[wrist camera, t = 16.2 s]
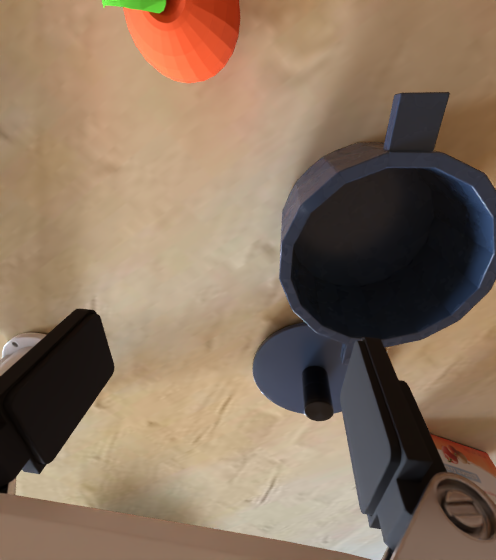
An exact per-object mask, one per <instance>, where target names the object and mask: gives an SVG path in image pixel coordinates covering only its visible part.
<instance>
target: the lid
mask: <svg viewBox="0 0 496 560" xmlns="http://www.w3.org/2000/svg"><path fill="white" fill-rule="evenodd" d="M342 345H343V343H341V342H338V341H336V340H333V339H331V338H329V337H326V336H324V335H321V334H319V333H316V332H315V331H314V330H313V329H312V328H311V327H310V326H309V325H307V324H306V323H305V322H303V323H298V324H294V325H291V326H287V327H285V328H283V329H280V330H278V331H277V332H275V333H273V334H272V335H270V336H269V337H268V338H267V339H266V340H265V341H264V342H263V343H262V344H261V345H260V347H259V348H258V350H257V352H256V354H255V357H254V361H253V376H254V380H255V382H256V384H257V386H258V388H259V389H260V391H261V392H262V393H263V394H264V395H265V396H266V397H267V398H268V399H269V400H271V401H272V402H273V403H275V404H277V405H278V406H280V407H282V408H285V409H287V410H290V411H293V412H297V413H302V414H305V415H306V416H307V417H308V418H309V419H311V420H315V421H325V420H328V419H330V418H331V417H332V416H333V414H334V413H338V412H341V411H342V408H341V402H340V394H341V390H342V386H343V383H344V379H345V375H346V372H347V368H348V365H349V364H342V362H341V357H340V354H341V349H342Z"/></svg>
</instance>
